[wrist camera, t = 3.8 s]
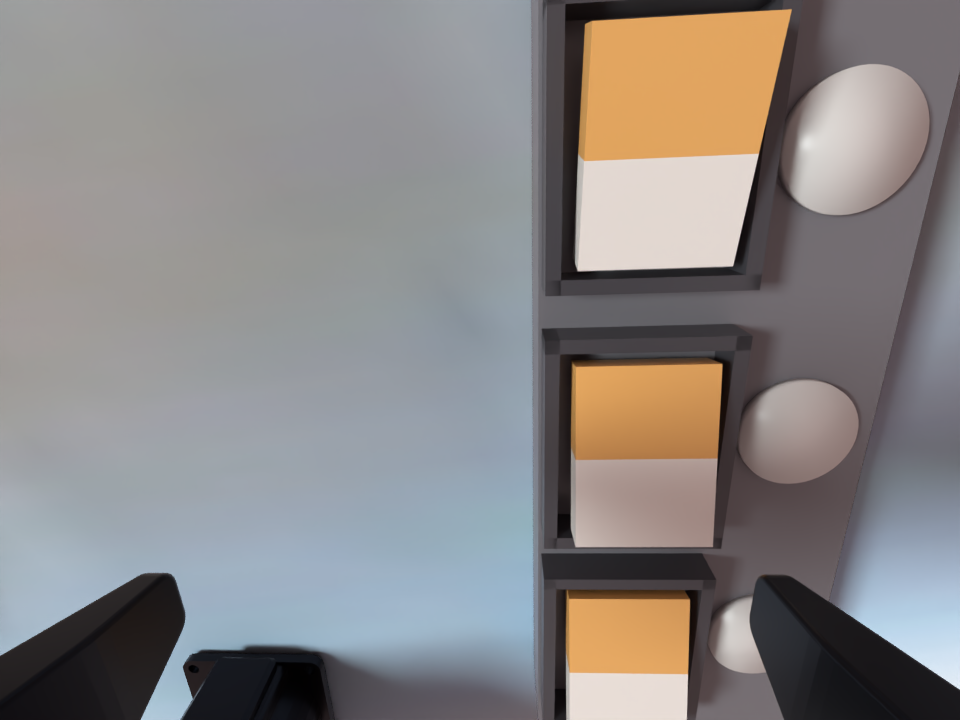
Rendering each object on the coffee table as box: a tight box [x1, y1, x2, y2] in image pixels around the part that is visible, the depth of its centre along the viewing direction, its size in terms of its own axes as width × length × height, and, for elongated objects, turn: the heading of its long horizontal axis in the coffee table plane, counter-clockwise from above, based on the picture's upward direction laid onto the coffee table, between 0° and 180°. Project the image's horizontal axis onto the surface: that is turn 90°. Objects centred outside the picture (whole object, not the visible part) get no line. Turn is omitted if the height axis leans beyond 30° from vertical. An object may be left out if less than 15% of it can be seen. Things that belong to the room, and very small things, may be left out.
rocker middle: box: [571, 358, 723, 547], centre depth 14 cm, size 5×4×1 cm
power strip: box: [531, 0, 960, 720], centre depth 17 cm, size 29×10×4 cm, turn 2°
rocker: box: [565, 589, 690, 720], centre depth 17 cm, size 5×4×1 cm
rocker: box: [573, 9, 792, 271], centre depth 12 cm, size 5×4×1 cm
